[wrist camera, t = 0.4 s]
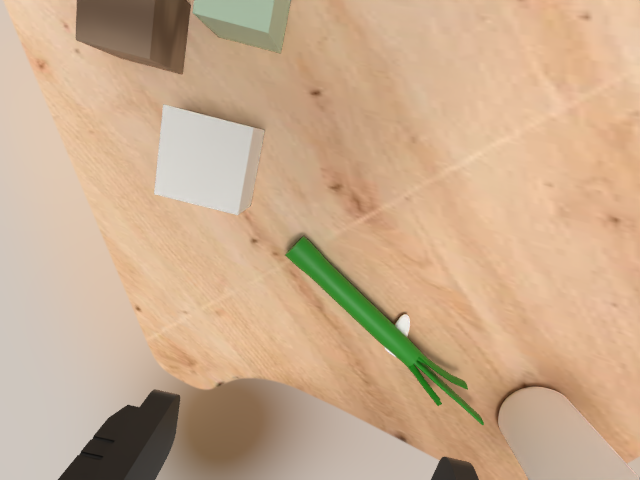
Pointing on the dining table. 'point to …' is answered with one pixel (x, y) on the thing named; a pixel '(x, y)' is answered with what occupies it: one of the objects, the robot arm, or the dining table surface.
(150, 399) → the robot arm
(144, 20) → the walnut block
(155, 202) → the dining table surface
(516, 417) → the alcohol
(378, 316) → the green onion
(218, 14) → the sage block
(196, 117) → the grey base block
